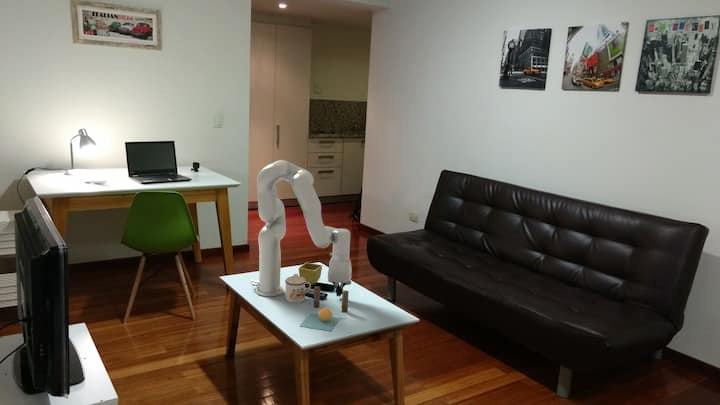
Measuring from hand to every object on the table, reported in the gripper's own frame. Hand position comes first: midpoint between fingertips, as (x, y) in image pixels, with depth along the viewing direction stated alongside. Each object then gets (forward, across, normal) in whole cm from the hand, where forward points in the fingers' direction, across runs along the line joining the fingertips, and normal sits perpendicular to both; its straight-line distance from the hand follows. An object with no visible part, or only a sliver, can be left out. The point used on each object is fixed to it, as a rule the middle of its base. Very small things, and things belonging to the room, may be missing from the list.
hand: (339, 295), depth 252 cm
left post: (+2, -6, -13) cm, 15 cm away
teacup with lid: (+2, -17, -7) cm, 18 cm away
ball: (-1, +1, -25) cm, 25 cm away
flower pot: (+2, -18, +12) cm, 22 cm away
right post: (+2, +6, -13) cm, 15 cm away
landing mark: (+2, 0, -27) cm, 27 cm away
